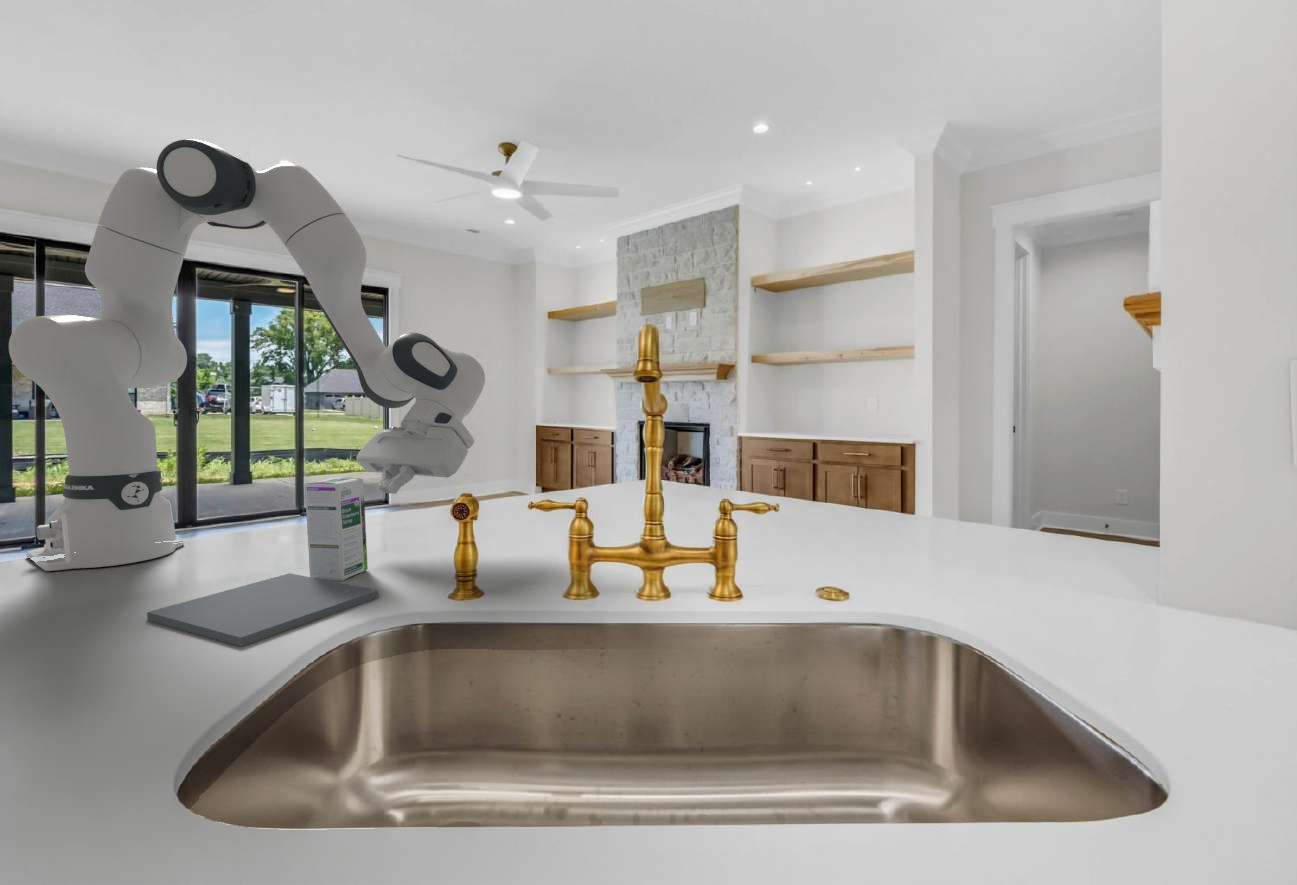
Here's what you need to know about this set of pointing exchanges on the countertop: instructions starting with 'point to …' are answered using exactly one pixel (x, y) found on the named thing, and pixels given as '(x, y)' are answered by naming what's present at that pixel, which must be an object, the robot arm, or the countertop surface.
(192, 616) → the slate mat
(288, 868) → the countertop surface
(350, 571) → the syrup box
